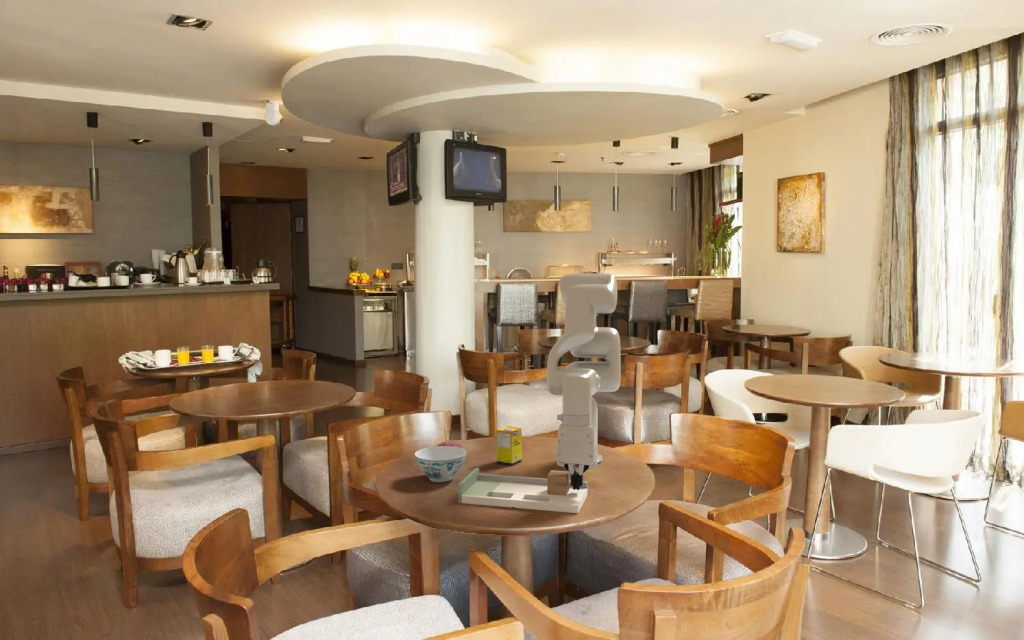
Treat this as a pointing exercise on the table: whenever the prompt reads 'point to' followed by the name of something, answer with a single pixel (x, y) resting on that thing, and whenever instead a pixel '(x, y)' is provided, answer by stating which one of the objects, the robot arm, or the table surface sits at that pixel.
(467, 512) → the table surface
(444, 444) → the cupcake
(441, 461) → the chinaware
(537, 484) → the trap board
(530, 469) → the table surface
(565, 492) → the walnut block
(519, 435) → the supplement box
